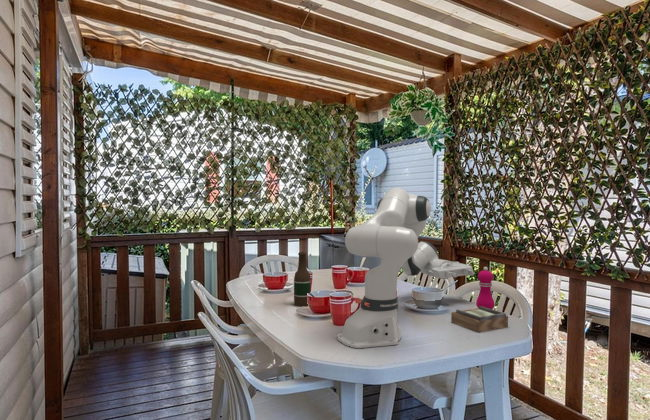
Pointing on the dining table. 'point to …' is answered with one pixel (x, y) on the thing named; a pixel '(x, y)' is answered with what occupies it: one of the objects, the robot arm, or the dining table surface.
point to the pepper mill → (485, 289)
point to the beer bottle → (301, 282)
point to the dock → (480, 319)
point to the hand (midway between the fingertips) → (464, 274)
